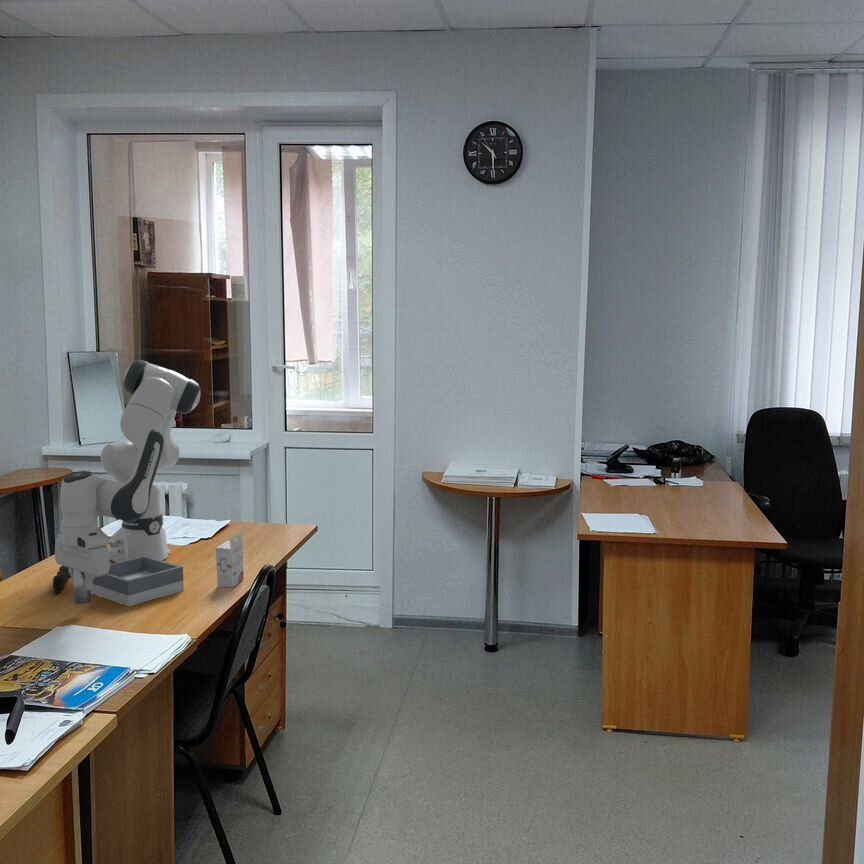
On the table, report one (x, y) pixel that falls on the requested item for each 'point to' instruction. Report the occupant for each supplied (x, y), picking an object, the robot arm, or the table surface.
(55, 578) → the hand tool
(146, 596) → the open gray box
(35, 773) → the table surface
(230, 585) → the ink cartridge box
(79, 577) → the peg
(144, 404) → the robot arm
